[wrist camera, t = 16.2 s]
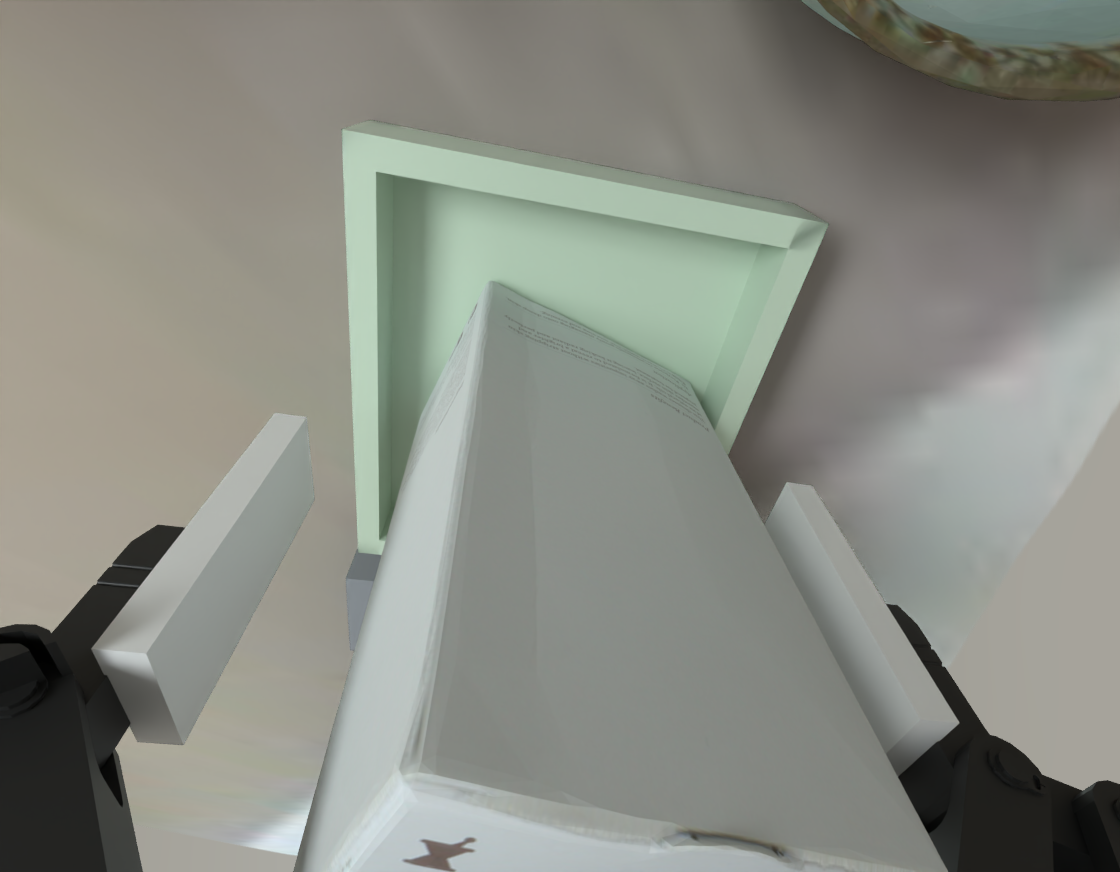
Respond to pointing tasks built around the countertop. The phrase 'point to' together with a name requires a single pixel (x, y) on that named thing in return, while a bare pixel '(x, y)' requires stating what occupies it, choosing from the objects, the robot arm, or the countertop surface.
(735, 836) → the skincare box
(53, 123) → the countertop surface
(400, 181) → the tray
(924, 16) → the bowl
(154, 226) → the countertop surface
